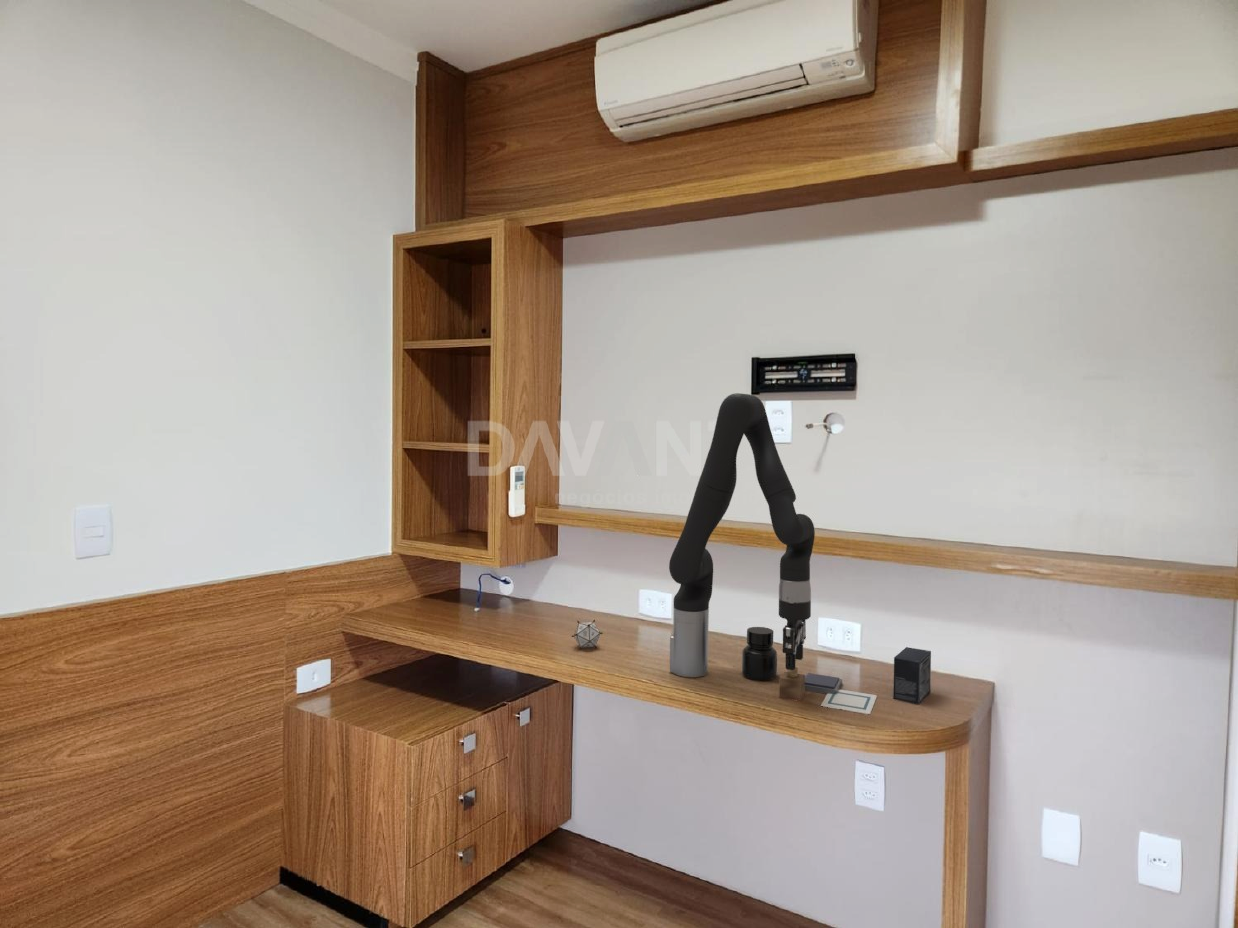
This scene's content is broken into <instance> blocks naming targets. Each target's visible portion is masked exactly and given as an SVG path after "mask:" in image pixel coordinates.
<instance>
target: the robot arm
mask: <svg viewBox="0 0 1238 928" xmlns="http://www.w3.org/2000/svg"><path fill="white" fill-rule="evenodd" d="M744 436H745V437H746V439H747V441H748V443H749V446H750V448H751V452H752V454H753V458H754V459H753V460H754V466H755V474H756V479H757V482H758V484H759V488H760V490H761V491H762V494H763V496H764V498H765V501H766V503H767V505H768V510H769V516H770V520H771V521H770V522H771V526H772V528H773V532H774V534H775V536H776V537H777V539H778V540H779V541H780V543H782V544H783V545H785V546H786V547H785V548H786V549H785V552H784V553H783V555H782V556H781V558H780V561H779V584H778V616H779V618H782V619H783V620H784V619H785V620H786V621H787V622H786V624H785V625H784V627H783V628H782V654H785V669H786V670H787V669H788V670H794V669H795V667H796V661H797V660H799V661H802V660H803V659H804V644H805V640H806V637H807V636H806V633H807V632H806V621H807V620H808V619H810V618H811V617H812V616H811V615H812V614H811V613H812V612H811V611H812V609H811V608H812V607H811V606H812V601H811V600H812V588H811V563H810V562H811V558H812V553H813V548H814V545H815V544H814V542H815V537H816V536H815V534H816V532H815V524H814V522H813V519H811V518H810V517H809V516H808V515H806V514H804V513H797V512H796V508H795V506H794V505H795V504H794V502H796V500H797V496H796V493H795V490H794V488H793V485H792V483H791V480H790V479H789V476H788V474H787V472H786V469H785V468H784V465H783V463H782V460H781V458H780V456H779V453H778V449H777V447H776V444H775V440H774V437H773V433H772V430H771V426H770V422H769V418H768V414H767V411H766V409H765V406H764V403H763V401H762V400H761V399H760V398H759V397H757V396H756V395H753V394H750V393H749V394H748V393H738V392H736V393H735V392H734V393H731V394H729V395H727V396H726V397H725V398H724V399H723V400H722V402H721V405H720V407H719V409H718V413H717V417H716V422H715V427H714V431H713V436H712V440H711V443H710V447H709V450H708V452H707V456H706V459H705V463H704V465H703V469H702V471H701V474H700V476H699V480H698V481H697V482H698V483H697V486H696V489H695V492H694V495H693V498H692V502H691V504H690V507H689V510H688V513H687V516H686V519H685V520H686V521H685V523H684V526H683V528H682V531H681V534H680V536H679V537H678V538H679V539H678V540H677V542H676V545H675V547H674V549H673V552H672V553H671V556H670V559H669V564H668V567H669V568H668V569H669V574H670V576H671V578H672V580H674V582H675V583H677V584H680V586H679V589H678V591H677V593H676V594H675V595H674V597H673V618H672V620H673V621H672V623H673V625H672V626H673V628H672V629H673V630H672V631H673V634H672V635H671V636H670V640H669V641H670V642H669V673H673V674H675V675H677V676H680V677H685V678H700V677H704V676H706V675H707V674H708V671H709V670H708V666H709V659H708V658H709V624H710V623H709V621H710V620H709V619H710V617H709V616H710V614H709V611H710V610H709V609H710V600H711V598H712V594H713V585H714V584H713V581H714V579H713V578H714V562H713V557H712V555H711V552H709V551H708V549H707V548H706V547H707V544H708V542H709V539H710V537H711V535H712V534H713V532H714V531H715V529H716V528H717V526H718V524H719V523H720V522H721V520H722V519H723V517H724V516H725V514H726V512H727V511H728V509H729V507H730V504H731V501H732V498H733V495H734V493H735V488H736V485H737V472H738V471H737V455H738V451H739V448H740V445H741V442H742V439H743V438H744ZM789 646H790V647H789Z"/></svg>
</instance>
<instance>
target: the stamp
mask: <svg viewBox="0 0 1238 928" xmlns="http://www.w3.org/2000/svg"><path fill="white" fill-rule="evenodd" d="M786 670H787V671H784V672H783V673H782V674H781V675H780V676H779V687H778V688H779V691H778V698H779V699H783V700H788V701H789V700H790V701H794V700H795V702H801V701H802V699H803V698H804V696H805V691H806V690H805V675H806V674H802V673H801V674H800V673H798V670H799V669H798V666H797V667H796V666H795V669H794V670H788V669H786ZM796 700H797V701H796ZM800 700H801V701H800Z"/></svg>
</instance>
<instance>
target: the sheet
mask: <svg viewBox="0 0 1238 928" xmlns="http://www.w3.org/2000/svg"><path fill="white" fill-rule="evenodd" d="M877 696H878V695H876V694H872V693H871V694H869V693H866V692H865V693H864V692H863V693H862V692H858V691H851V690H846V689H841V688H840V689H839V690H838V692H837V694H830V693H828V694H825V697H824V699H823V701H822V702H821V705H820V707H821V706H823V707H822V708H827V707H828V709H834V710H839V709H842V710H841V711H845V710H846V712H852V713H857V714H862V715H864V714H865V715H868V714H869V715H868V716H870V715H871V714H872V710H873V708H874V706H875V705H874V704H875V702H876V700H877Z"/></svg>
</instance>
